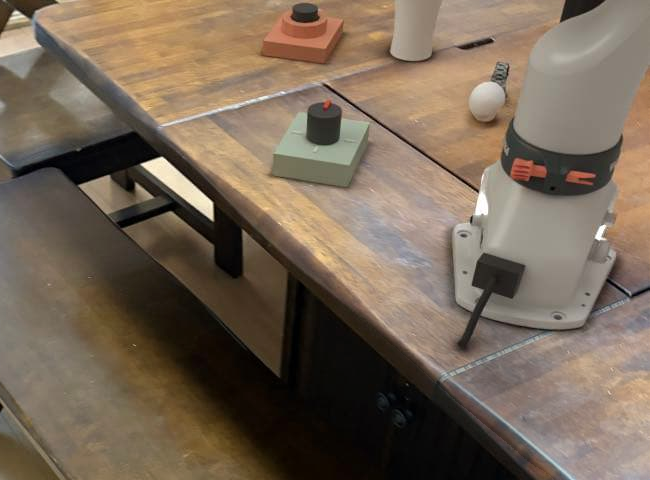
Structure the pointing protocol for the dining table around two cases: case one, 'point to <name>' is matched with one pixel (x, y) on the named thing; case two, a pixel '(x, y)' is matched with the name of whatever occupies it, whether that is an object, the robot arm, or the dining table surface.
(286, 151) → the panel
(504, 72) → the wristwatch
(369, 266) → the dining table surface
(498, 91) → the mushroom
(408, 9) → the cup
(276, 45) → the button base
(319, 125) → the dial
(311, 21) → the dark grey puck
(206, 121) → the dining table surface
